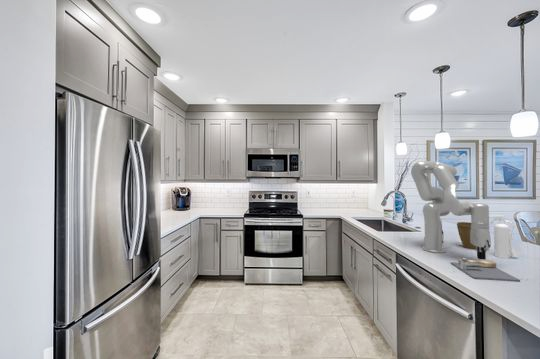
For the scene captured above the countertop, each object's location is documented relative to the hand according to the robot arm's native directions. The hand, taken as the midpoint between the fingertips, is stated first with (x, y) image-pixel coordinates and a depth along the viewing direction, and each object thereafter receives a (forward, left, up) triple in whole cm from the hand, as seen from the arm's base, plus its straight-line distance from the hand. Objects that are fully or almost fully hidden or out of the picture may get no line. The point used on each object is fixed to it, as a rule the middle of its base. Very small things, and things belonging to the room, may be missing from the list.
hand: (481, 258), depth 130 cm
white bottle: (-14, +20, -3) cm, 25 cm away
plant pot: (-32, +13, -3) cm, 35 cm away
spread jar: (-46, -4, -3) cm, 47 cm away
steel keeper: (+13, -12, -3) cm, 17 cm away
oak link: (+7, -6, -2) cm, 9 cm away
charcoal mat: (+13, -7, -3) cm, 15 cm away
